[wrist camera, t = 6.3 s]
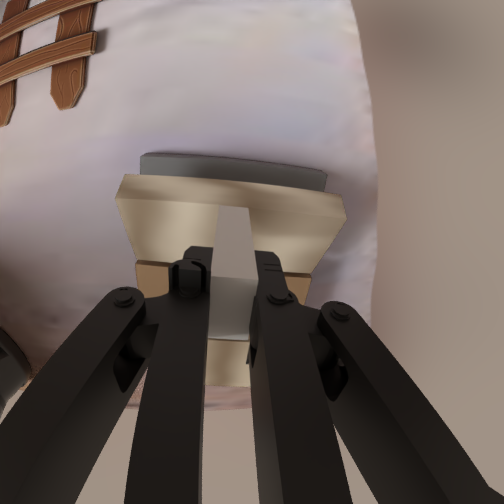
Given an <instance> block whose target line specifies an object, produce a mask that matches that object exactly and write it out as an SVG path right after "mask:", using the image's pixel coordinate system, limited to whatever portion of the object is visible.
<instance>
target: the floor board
mask: <svg viewBox="0 0 504 504" xmlns="http://www.w3.org/2000/svg"><path fill="white" fill-rule="evenodd" d="M140 175H160V176H178V177H194V178H207V179H219V180H230V181H240V182H250V183H259V184H268V185H276V186H284V187H291V188H299V189H306V190H313V191H319V192H324V188H325V183H326V178H327V174H326V173H324V172H323V171H321V170H316V169H310V168H303V167H297V166H290V165H283V164H276V163H269V162H261V161H252V160H243V159H233V158H223V157H211V156H197V155H180V154H157V153H146V154H144V155H142V156H140ZM170 265H171V263H170V262H159V261H148V260H137V262H136V264H135V266H136V276H137V286H138V290H140V291H141V292H142V293H143V294H144V298H150V297H157V296H161V295H164V294H166V293H168V291H169V280H168V267H169V266H170ZM283 273H284V276H285V280H286V283H287V287H288V290H290V291H291V292H293V293H294V294H295V295H296V297H297V298H298V301H299V303H300V304H302V305H304V303H305V300H306V297H307V293H308V290H309V286H310V283H311V279H312V278H311V275H310V273H295V272H283ZM248 338H250V335H249V337H248Z"/></svg>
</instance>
